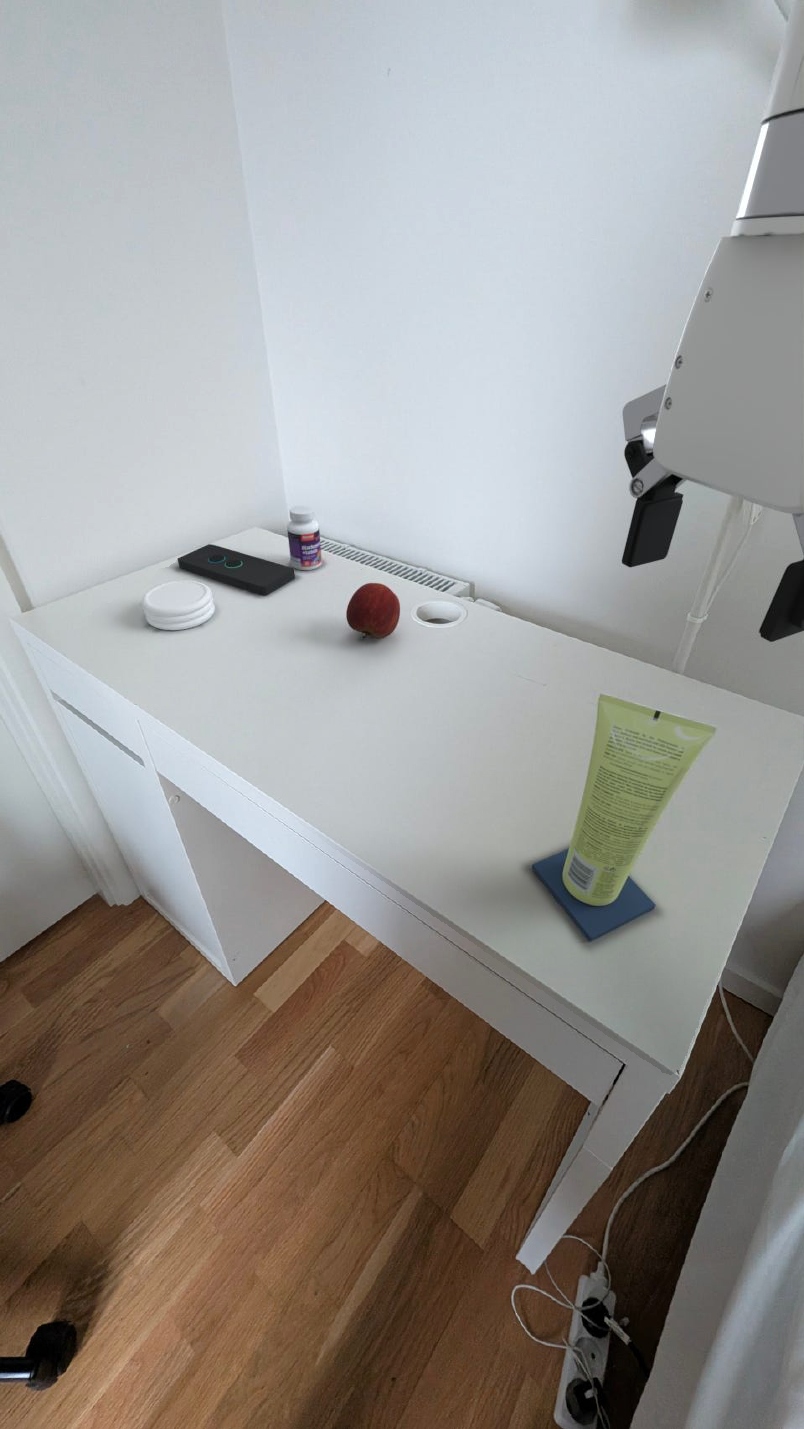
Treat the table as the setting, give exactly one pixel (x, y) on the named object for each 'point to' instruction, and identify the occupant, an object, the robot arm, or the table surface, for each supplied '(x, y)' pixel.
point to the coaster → (178, 605)
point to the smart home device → (237, 569)
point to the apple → (373, 610)
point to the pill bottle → (304, 539)
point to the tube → (627, 792)
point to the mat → (589, 916)
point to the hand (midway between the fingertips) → (706, 594)
